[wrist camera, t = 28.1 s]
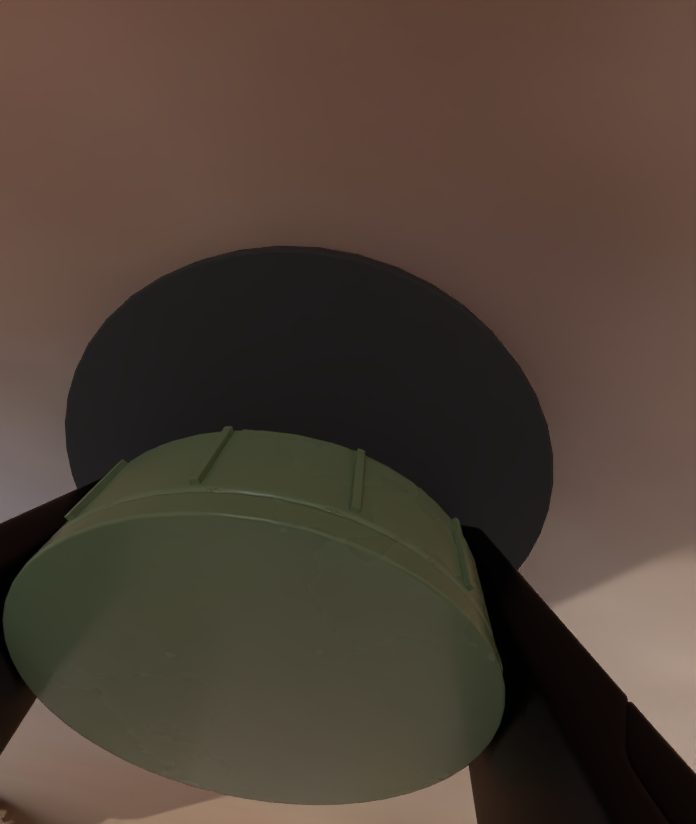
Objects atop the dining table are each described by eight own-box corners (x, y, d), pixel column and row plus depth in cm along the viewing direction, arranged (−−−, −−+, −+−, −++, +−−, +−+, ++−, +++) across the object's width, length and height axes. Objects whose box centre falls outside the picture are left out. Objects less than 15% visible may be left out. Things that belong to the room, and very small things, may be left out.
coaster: (19, 214, 7) (-7, 215, 6) (632, 281, 6) (650, 287, 6) (124, 604, 11) (114, 620, 11) (477, 652, 11) (480, 671, 11)
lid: (48, 388, 5) (-79, 461, 4) (545, 474, 5) (605, 579, 4) (112, 669, 8) (57, 766, 7) (423, 723, 8) (430, 831, 7)
